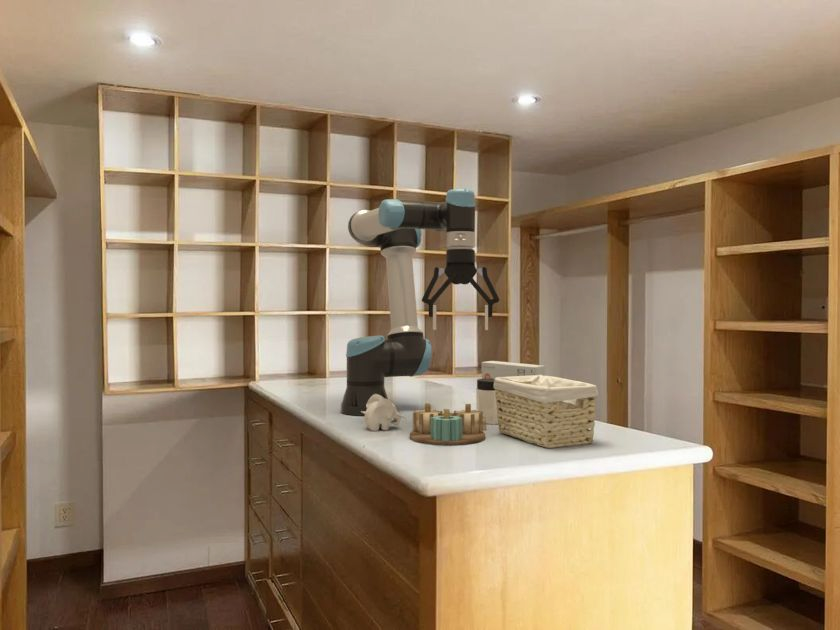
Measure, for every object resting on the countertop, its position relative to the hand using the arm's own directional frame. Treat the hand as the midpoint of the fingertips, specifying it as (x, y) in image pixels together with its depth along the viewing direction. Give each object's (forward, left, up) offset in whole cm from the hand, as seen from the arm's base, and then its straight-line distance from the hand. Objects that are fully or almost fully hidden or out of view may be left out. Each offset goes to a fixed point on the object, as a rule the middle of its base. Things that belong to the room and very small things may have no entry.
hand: (460, 329), depth 182 cm
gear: (+13, -8, -26) cm, 30 cm away
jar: (-11, +13, -27) cm, 32 cm away
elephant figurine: (-9, -19, -27) cm, 34 cm away
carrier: (+8, -6, -27) cm, 28 cm away
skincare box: (-19, +23, -27) cm, 40 cm away
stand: (-2, +5, -27) cm, 27 cm away
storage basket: (+15, +17, -27) cm, 35 cm away
